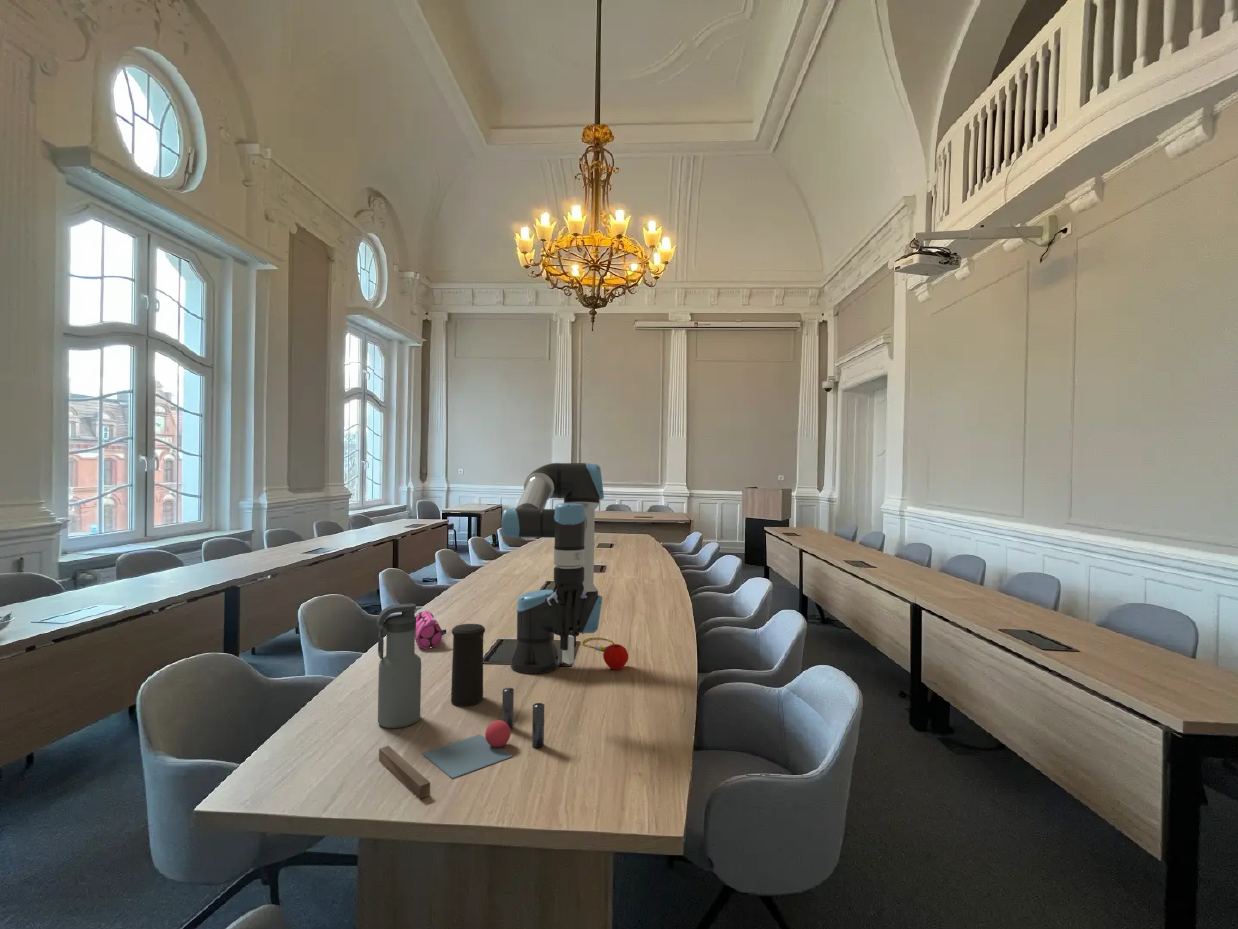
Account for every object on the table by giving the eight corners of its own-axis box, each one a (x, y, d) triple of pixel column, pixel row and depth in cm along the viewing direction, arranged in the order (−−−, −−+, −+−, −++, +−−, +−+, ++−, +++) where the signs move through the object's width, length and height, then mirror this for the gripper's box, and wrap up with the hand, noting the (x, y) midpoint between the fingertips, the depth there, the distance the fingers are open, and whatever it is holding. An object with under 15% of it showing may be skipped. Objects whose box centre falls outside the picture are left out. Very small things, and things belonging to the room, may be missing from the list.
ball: (501, 713, 136) (480, 721, 132) (515, 721, 132) (494, 730, 128) (501, 737, 136) (480, 745, 132) (515, 746, 132) (494, 755, 128)
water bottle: (377, 733, 138) (380, 612, 138) (373, 717, 147) (376, 603, 147) (423, 725, 143) (425, 608, 143) (416, 710, 151) (418, 600, 152)
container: (490, 697, 161) (491, 622, 161) (471, 709, 153) (472, 631, 153) (462, 692, 164) (464, 620, 164) (443, 704, 155) (444, 627, 156)
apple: (604, 663, 190) (604, 640, 191) (628, 664, 190) (629, 641, 190) (601, 672, 182) (602, 648, 183) (627, 673, 182) (627, 648, 182)
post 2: (539, 742, 134) (540, 702, 134) (546, 746, 132) (546, 705, 132) (529, 745, 132) (530, 705, 132) (536, 749, 130) (537, 708, 131)
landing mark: (479, 735, 137) (479, 734, 137) (512, 757, 127) (512, 756, 127) (421, 754, 128) (421, 753, 128) (452, 779, 118) (452, 778, 118)
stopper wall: (388, 757, 126) (388, 745, 126) (429, 796, 111) (430, 782, 111) (378, 760, 125) (379, 748, 125) (419, 799, 110) (419, 786, 110)
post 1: (509, 724, 143) (509, 687, 144) (515, 728, 141) (515, 690, 142) (500, 727, 142) (500, 689, 142) (505, 731, 140) (506, 692, 140)
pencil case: (446, 648, 206) (447, 619, 206) (417, 651, 202) (418, 622, 202) (434, 633, 225) (435, 606, 225) (408, 636, 221) (408, 609, 221)
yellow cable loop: (582, 653, 203) (582, 647, 203) (581, 640, 219) (581, 635, 219) (618, 653, 204) (618, 647, 204) (614, 640, 220) (614, 635, 220)
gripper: (556, 570, 139) (555, 672, 139) (599, 565, 148) (598, 660, 148) (538, 566, 145) (537, 664, 144) (580, 562, 153) (579, 653, 153)
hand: (567, 662), depth 146 cm, fingers closed
